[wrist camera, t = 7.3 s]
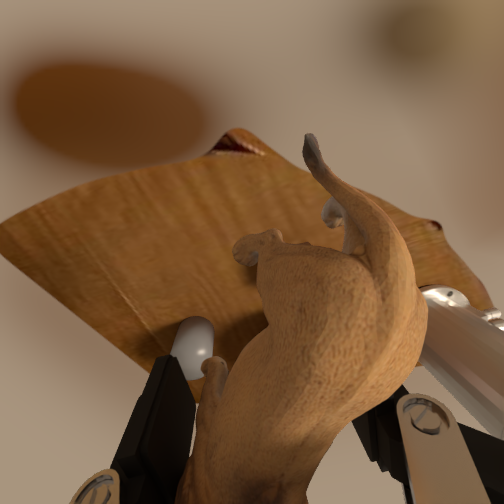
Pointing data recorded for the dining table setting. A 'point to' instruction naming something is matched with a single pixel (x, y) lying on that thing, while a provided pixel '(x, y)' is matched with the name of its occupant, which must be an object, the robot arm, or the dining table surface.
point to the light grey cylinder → (193, 345)
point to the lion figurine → (307, 353)
